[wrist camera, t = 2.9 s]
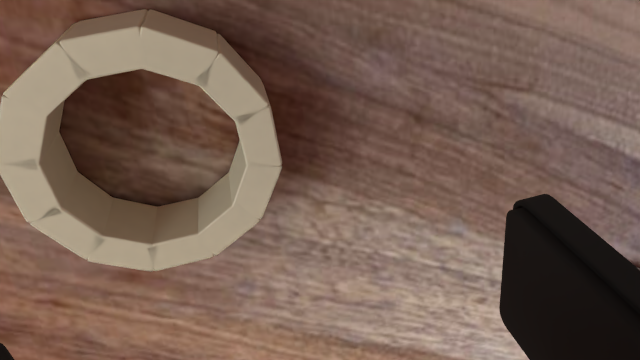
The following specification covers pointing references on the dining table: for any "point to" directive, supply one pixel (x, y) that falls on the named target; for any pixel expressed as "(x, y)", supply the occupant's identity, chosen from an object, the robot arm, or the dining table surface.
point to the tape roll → (92, 202)
